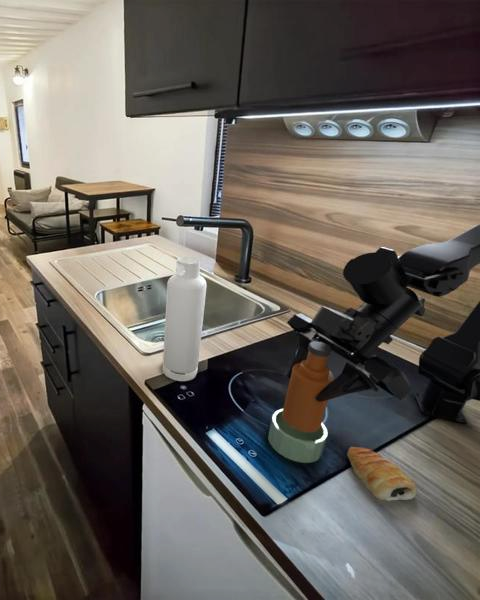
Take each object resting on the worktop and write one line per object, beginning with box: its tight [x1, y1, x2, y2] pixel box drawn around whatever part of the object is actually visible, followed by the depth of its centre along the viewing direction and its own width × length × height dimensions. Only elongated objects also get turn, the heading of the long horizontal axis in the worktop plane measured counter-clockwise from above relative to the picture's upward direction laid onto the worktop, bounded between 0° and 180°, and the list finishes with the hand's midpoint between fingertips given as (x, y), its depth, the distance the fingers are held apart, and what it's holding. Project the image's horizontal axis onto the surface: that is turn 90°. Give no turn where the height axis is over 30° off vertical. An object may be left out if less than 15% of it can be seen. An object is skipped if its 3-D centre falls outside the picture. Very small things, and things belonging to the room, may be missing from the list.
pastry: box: [346, 446, 418, 502], centre depth 58 cm, size 9×7×4 cm
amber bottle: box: [282, 342, 336, 432], centre depth 60 cm, size 6×6×15 cm
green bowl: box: [267, 408, 329, 464], centre depth 64 cm, size 8×8×5 cm
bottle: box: [162, 255, 208, 382], centre depth 81 cm, size 8×8×28 cm
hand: (302, 388), depth 60 cm, fingers closed on amber bottle, 6 cm apart
